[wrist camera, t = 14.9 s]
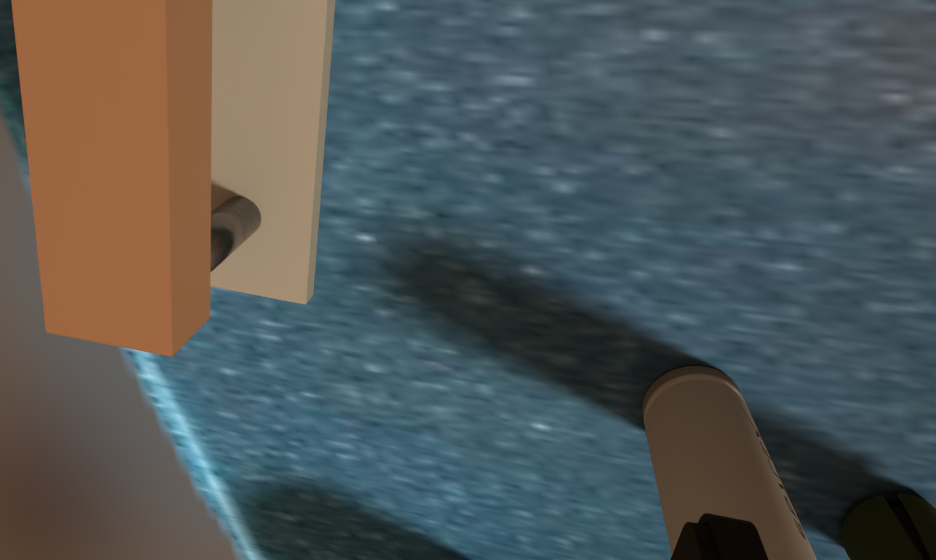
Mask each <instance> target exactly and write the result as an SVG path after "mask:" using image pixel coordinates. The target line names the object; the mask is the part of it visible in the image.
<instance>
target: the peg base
mask: <svg viewBox="0 0 936 560" xmlns="http://www.w3.org/2000/svg"><path fill="white" fill-rule="evenodd" d="M334 13H335V0H212V123H211V211H212V210H214V209H215V208H217V207H218V206H219V205H221V204H222V203H223V202H225V201H226V200H227V199H229V198H231V197H234V196H242V197H245V198H248V199H249V200H251V201H252V202H253V203H254V204H255V205H256V206H257V207H258V209H259V211H260V214H261V224H260V226H259V228H258V229H257V231H255V232H254V233H253V234H252V235H251V236H250V237H249V238H248V239H247V240H246V241H245V242H243V243H242V244H241V245H240V246H239V247H238V248H237V249H236V250H235V251H234V252H233V253H232V254H230V255H229V256H228V257H227V258H226V259H225V260H224V261H223V262H222V263H221V264H220V265H218V266H217V267H216V268H215V269H214V270H213V271H212V272H211V273H210V286H212V287H217V288H222V289H227V290H233V291H238V292H243V293H248V294H254V295H259V296H264V297H269V298H274V299H280V300H285V301H290V302H295V303H301V304H307V302H308V301H309V300H310V298H311V297H312V295H313V292H314V278H315V265H316V252H317V239H318V225H319V212H320V199H321V186H322V172H323V159H324V146H325V133H326V119H327V106H328V93H329V80H330V66H331V53H332V40H333V27H334Z"/></svg>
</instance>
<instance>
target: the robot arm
mask: <svg viewBox="0 0 936 560" xmlns="http://www.w3.org/2000/svg"><path fill="white" fill-rule="evenodd" d="M671 560H769V559H768V557H767V554H766V551H765V549H764V546H763V543H762V541H761V538H760V535H759V533H758V530H757V529H756V527H755V525H754V524H753V523H752V522H750V521H745V520H740V519H735V518H730V517H725V516H720V515H715V514H709V513H705V514H703V515H702V516H701V517H700V519H699V521H698V523H693V522H687V523H686V524H685V525H684V527H683V529H682V531H681V533H680V536H679V539H678V541H677V544H676V547H675V549H674V552H673V554H672V557H671Z"/></svg>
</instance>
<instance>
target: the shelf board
mask: <svg viewBox="0 0 936 560" xmlns="http://www.w3.org/2000/svg"><path fill="white" fill-rule="evenodd" d="M11 2H12V11H13V21H14V30H15V40H16V49H17V59H18V68H19V78H20V87H21V97H22V106H23V116H24V125H25V135H26V144H27V154H28V163H29V173H30V182H31V192H32V201H33V211H34V220H35V230H36V239H37V249H38V258H39V268H40V277H41V287H42V296H43V306H44V314H45V325H46V332H48V333H53V334H58V335H63V336H68V337H73V338H78V339H83V340H89V341H94V342H99V343H104V344H109V345H114V346H119V347H125V348H130V349H135V350H140V351H145V352H150V353H155V354H160V355H166V356H171V357H173V356H174V355H175V354H176V353H177V352H178V350H179V349H180V348H181V347H182V346H183V345H184V344H185V343H186V342H187V341H188V340H189V339H190V338H191V337H192V336H193V335H194V334H195V333H196V332H197V331H198V330H199V328H200V327H201V326H202V325H203V324H204V323H205V322H206V321H207V320H208V319H209V318H210V263H211V123H212V0H11Z"/></svg>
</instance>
